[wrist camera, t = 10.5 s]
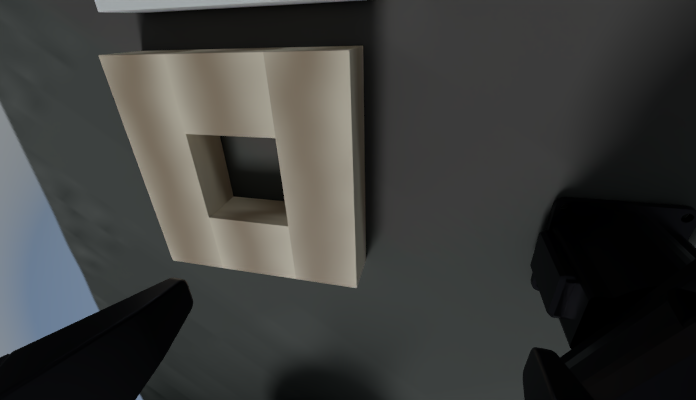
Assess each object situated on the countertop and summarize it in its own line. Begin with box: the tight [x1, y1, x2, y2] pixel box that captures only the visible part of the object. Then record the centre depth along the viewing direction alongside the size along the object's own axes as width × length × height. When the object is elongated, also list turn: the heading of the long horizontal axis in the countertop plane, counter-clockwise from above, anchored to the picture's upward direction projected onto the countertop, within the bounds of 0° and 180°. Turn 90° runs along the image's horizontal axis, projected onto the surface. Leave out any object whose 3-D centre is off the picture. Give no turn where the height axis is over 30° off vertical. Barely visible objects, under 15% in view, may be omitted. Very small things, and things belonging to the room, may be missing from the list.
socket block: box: [98, 46, 366, 288], centre depth 21 cm, size 14×14×3 cm
